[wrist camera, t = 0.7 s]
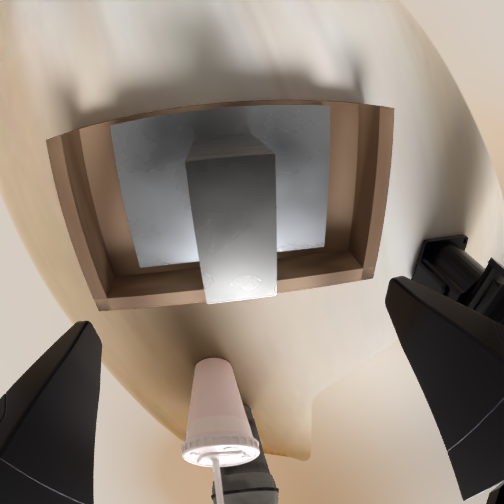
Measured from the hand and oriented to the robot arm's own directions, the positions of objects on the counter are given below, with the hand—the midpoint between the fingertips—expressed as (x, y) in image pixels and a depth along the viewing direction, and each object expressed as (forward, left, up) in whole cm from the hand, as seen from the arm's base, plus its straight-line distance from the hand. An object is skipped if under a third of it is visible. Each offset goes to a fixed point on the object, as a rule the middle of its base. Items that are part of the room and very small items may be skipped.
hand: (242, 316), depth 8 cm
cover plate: (0, -1, -11) cm, 11 cm away
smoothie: (+3, +18, -12) cm, 22 cm away
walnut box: (0, 0, -12) cm, 12 cm away
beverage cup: (+2, +28, -12) cm, 31 cm away
